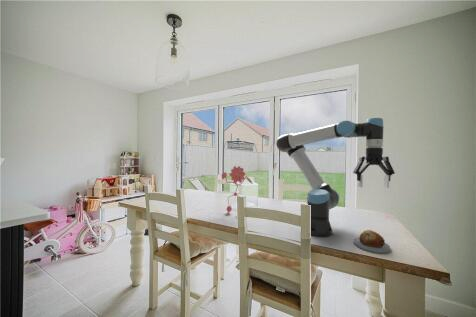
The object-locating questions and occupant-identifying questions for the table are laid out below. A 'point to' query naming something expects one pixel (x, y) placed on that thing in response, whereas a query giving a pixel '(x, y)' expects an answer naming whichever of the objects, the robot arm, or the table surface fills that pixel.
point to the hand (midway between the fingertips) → (373, 187)
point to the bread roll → (371, 239)
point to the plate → (371, 249)
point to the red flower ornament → (235, 180)
